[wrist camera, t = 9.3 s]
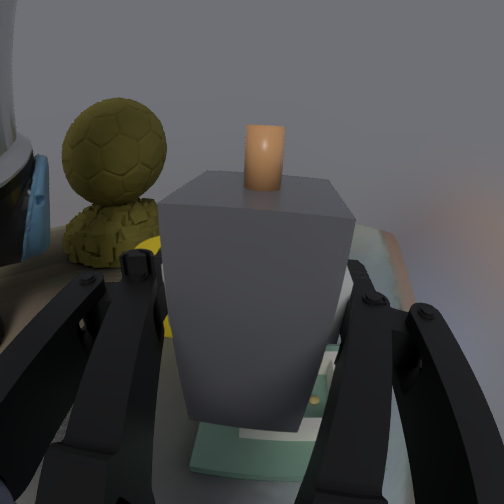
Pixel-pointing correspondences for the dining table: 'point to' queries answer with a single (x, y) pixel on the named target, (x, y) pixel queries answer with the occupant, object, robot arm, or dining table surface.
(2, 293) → the dining table surface
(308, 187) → the plug
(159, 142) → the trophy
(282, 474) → the board
